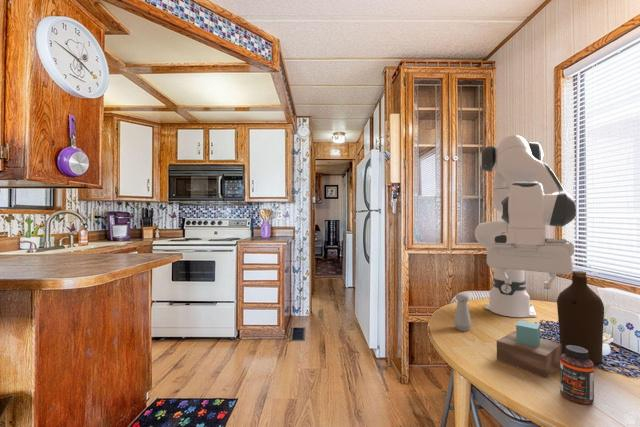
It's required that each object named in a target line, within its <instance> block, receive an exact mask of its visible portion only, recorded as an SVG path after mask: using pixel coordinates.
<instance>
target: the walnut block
mask: <svg viewBox="0 0 640 427" xmlns="http://www.w3.org/2000/svg"><path fill="white" fill-rule="evenodd" d="M561 355H562V344H560V342H556V341H552V340H548V339H545V338H541V337H540V343H539V346H538V347H533V346H529V345H525V344H520V343H516V330H515V331H512V332H510V333H508V334H506V335H504V336H503V337H501V338H499V339H497V340H496V361H497V362H501V363H504V364H506V365H508V366H512V367H514V368H517V369H520V370H523V371H525V372H529V373H531V374H534V375H536V376H540V377H543V378H545V379H547V378H548V377H549V376H550V375H551V374H552V373H554V372H555V371H556V370H557V369H558V368H560V358H561Z"/></svg>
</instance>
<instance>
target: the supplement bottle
mask: <svg viewBox="0 0 640 427" xmlns="http://www.w3.org/2000/svg"><path fill="white" fill-rule="evenodd" d="M565 352H566V353H565V354H562V355H561V358H560V366H559V368H560V370H559V374H560V375H559V376H560V378H559V382H560V384H559V385H560V386H559V389H560V394H561V395H562V396H563V397H564V398H566V399H568V400H569V401H571V402H574V403H576V404H580V405H591V404H594V402H595V365H594V364H593V362H592V361H591V360H590V359H589V358H588V351H587V350H586V349H584V348H582V347H579V346H574V345H567V346H566V350H565Z"/></svg>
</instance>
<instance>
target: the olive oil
mask: <svg viewBox="0 0 640 427" xmlns="http://www.w3.org/2000/svg"><path fill="white" fill-rule="evenodd" d="M587 281H588V277H587V272H586V271H583V270H573V271H572V275H571V284H569V286H567V287H566V288H565V289H563V290H562V291H561V292H559V294H558V296H557V298H556V308H557V320H558V333H559V334H558V335H559V343H560V344H562V354H565V353H566V352H565V350H566V346H567V345H574V346H579V347H582V348H584V349H586V350H587V351H588V358H589V359H590V360H591V361H592V362H593V364H595V365H596V364H601V363H602V362H603V347H604V346H603V343H604V342H603V340H604V339H603V338H604V323H605V322H604V321H605V305H604V302H603V301H602V298H601V296H599V294H597V293H596V292H595V291H594V290H593V289H592V288H590V287H589V286H588V282H587Z"/></svg>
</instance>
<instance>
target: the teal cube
mask: <svg viewBox="0 0 640 427" xmlns="http://www.w3.org/2000/svg"><path fill="white" fill-rule="evenodd" d="M515 331H516V343H520V344H525V345H529V346H533V347H538V346H539V343H540V338H541V325H540V323H536V322H531V321H524V320H518V321H517V323H516V325H515Z"/></svg>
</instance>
